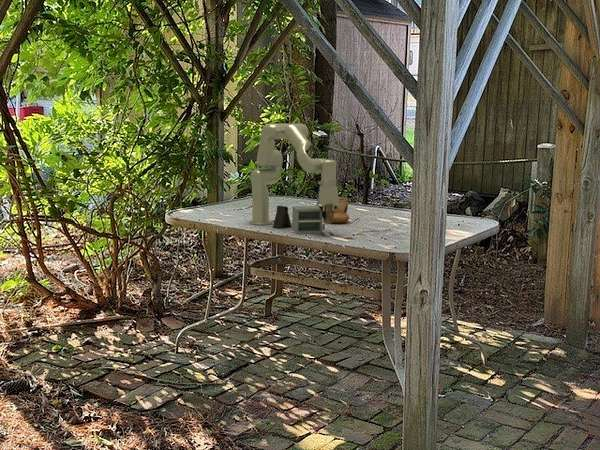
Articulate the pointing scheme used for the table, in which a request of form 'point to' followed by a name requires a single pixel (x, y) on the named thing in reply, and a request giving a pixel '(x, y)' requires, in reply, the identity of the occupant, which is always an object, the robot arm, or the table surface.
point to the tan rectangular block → (328, 213)
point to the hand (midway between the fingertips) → (327, 218)
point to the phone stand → (282, 218)
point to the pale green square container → (307, 220)
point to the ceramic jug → (341, 212)
